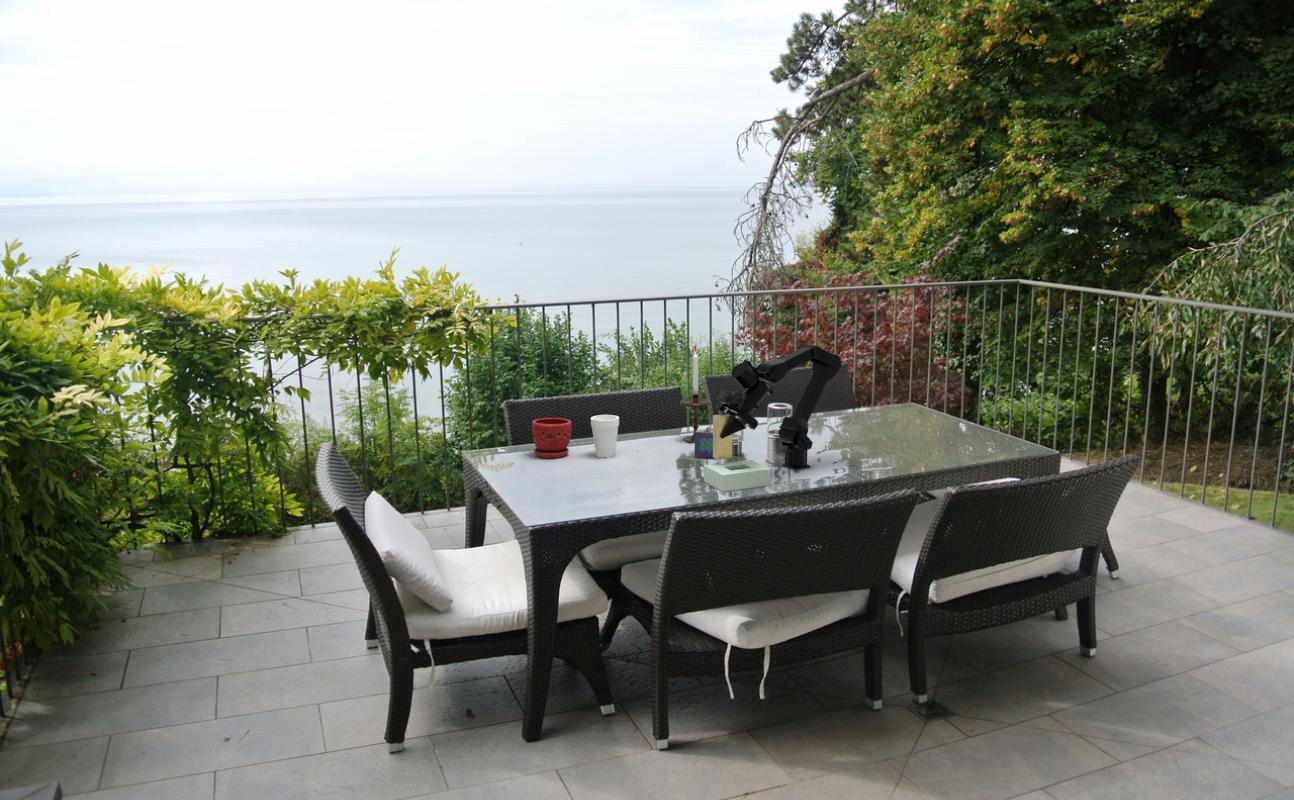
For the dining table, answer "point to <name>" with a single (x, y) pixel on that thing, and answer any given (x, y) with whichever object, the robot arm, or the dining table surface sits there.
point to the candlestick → (695, 400)
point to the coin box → (737, 475)
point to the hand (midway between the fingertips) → (718, 436)
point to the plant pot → (551, 437)
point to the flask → (704, 443)
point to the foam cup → (605, 434)
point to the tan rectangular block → (721, 446)
